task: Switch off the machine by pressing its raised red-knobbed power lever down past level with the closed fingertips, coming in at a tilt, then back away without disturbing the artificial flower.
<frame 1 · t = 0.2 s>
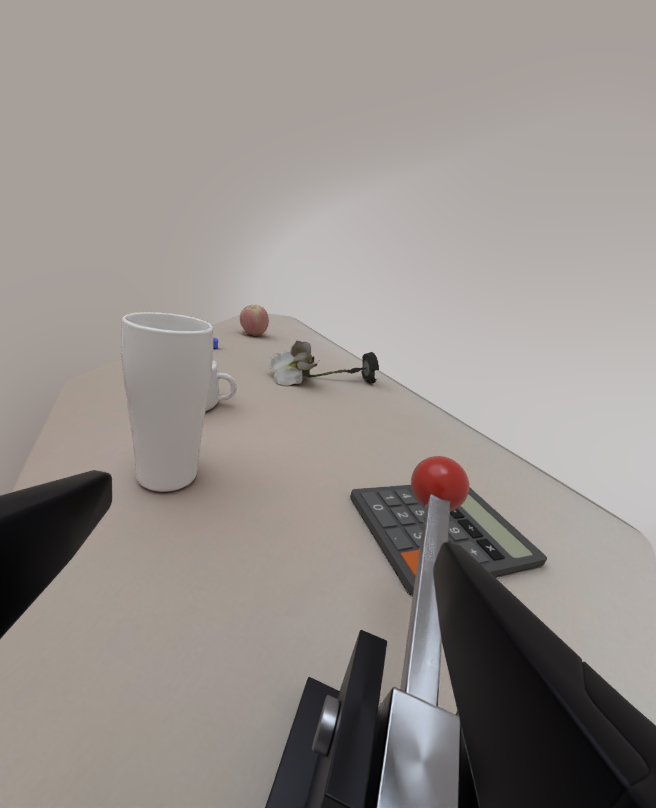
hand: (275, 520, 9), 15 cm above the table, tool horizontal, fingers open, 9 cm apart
eraser: (203, 347, 75), on the table
drinking glass: (167, 478, 33), on the table
lever: (429, 579, 15), point 10 cm above the table, hinge at 15.0°
calculator: (440, 529, 33), on the table
apple: (252, 335, 94), on the table
artificial flower: (324, 382, 68), on the table
mug: (191, 403, 48), on the table
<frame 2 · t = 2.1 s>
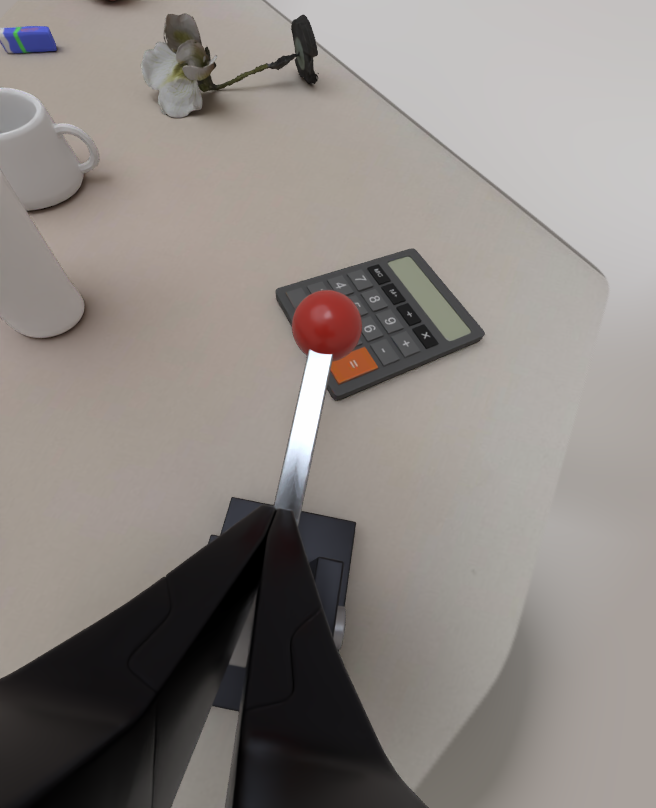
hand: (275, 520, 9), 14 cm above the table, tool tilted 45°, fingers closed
eraser: (33, 52, 46), on the table
drinking glass: (53, 316, 28), on the table
switch bracket: (275, 598, 20), on the table
lever: (299, 454, 14), point 10 cm above the table, hinge at 15.0°
calculator: (377, 319, 31), on the table
apple: (111, 0, 56), on the table
artificial flower: (240, 97, 46), on the table
mug: (48, 185, 34), on the table
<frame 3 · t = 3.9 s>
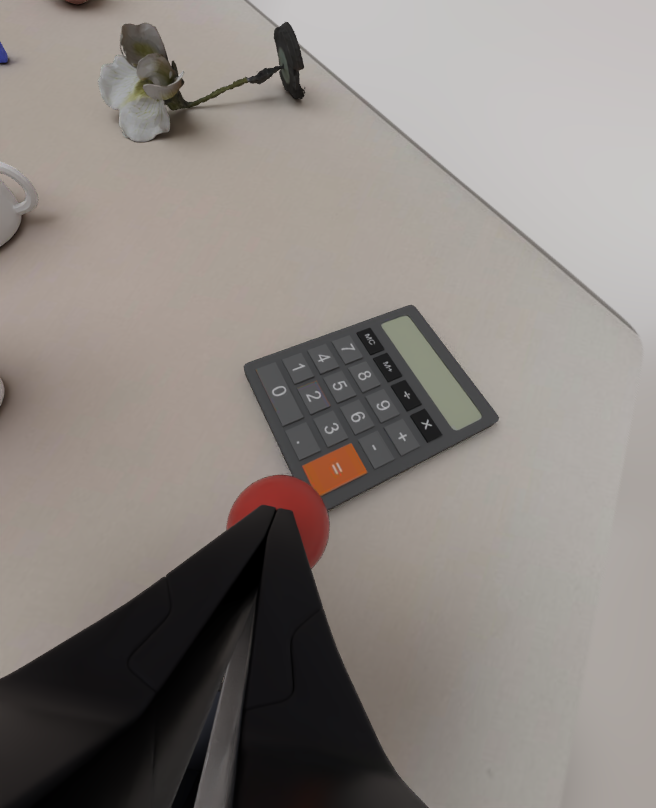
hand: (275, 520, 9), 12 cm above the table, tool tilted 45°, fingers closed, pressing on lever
lever: (229, 751, 9), point 9 cm above the table, hinge at 12.3°, touching gripper
calculator: (368, 398, 25), on the table
apple: (77, 3, 50), on the table
artificial flower: (216, 116, 40), on the table
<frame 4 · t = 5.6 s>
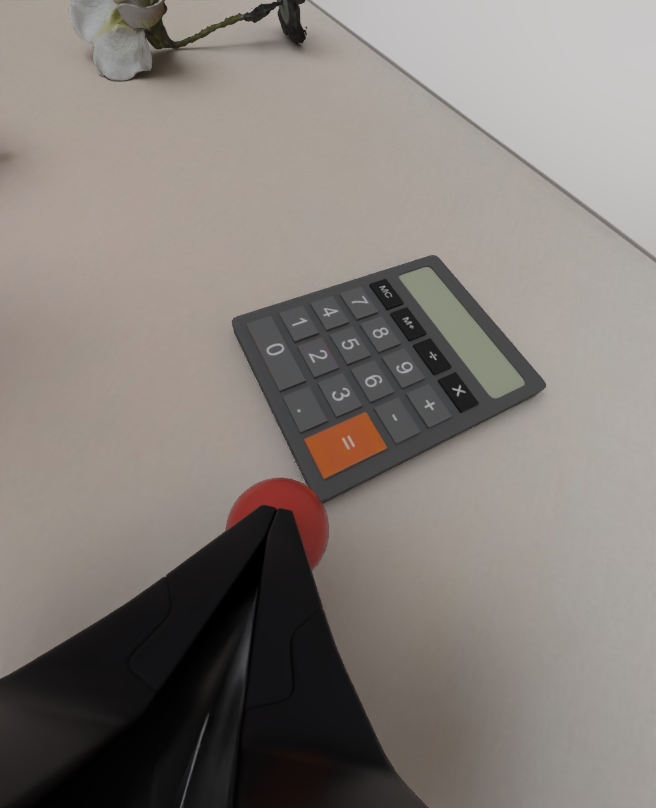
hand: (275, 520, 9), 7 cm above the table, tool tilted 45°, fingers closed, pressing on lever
calculator: (385, 361, 21), on the table
artificial flower: (205, 58, 36), on the table
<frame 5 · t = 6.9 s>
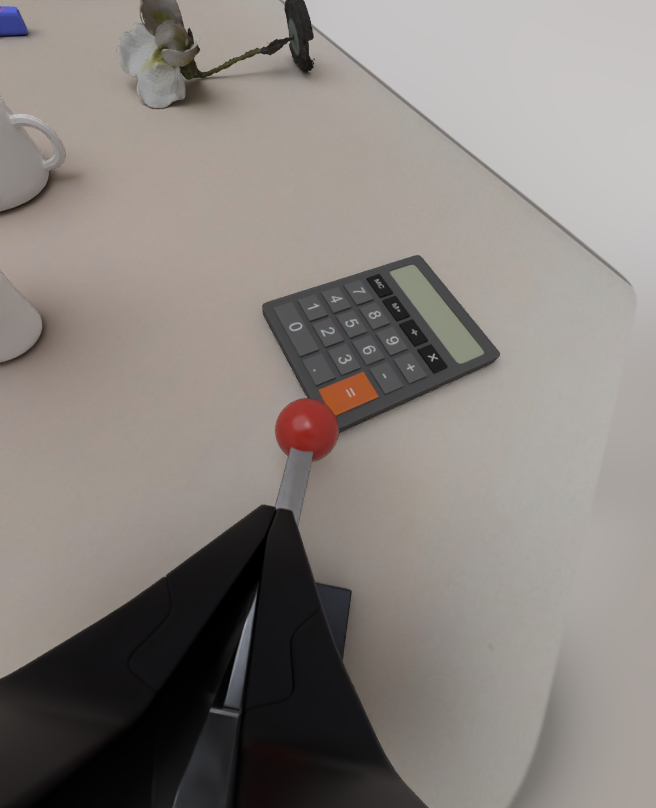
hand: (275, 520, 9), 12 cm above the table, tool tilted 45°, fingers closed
eraser: (1, 36, 42), on the table
drinking glass: (6, 337, 24), on the table
switch bracket: (254, 685, 17), on the table
lever: (278, 551, 13), point 7 cm above the table, hinge at -12.2°
calculator: (378, 337, 27), on the table
artificial flower: (228, 86, 42), on the table
mug: (10, 184, 31), on the table
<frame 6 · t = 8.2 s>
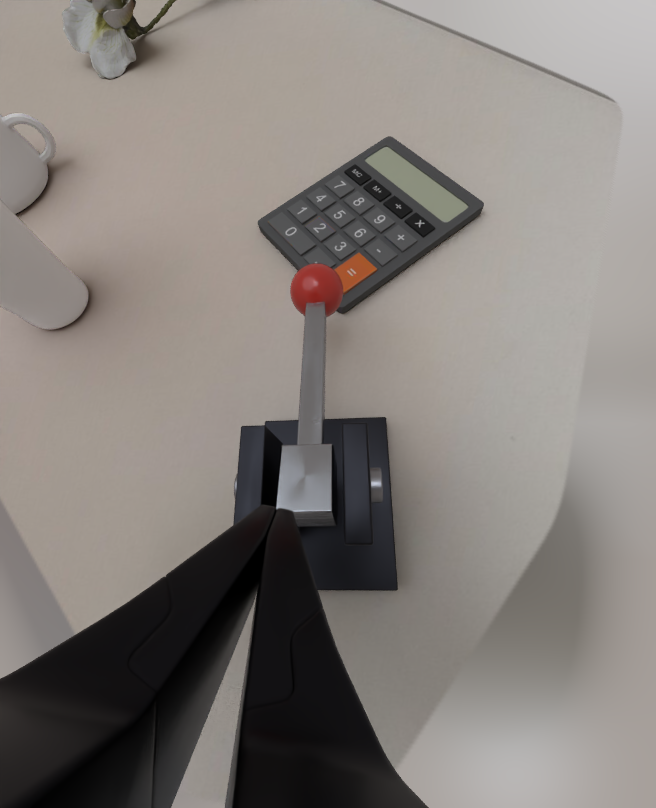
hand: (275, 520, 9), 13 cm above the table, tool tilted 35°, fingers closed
drinking glass: (64, 306, 29), on the table
switch bracket: (326, 499, 22), on the table
lever: (313, 369, 17), point 7 cm above the table, hinge at -12.2°
calculator: (367, 222, 29), on the table
artificial flower: (171, 33, 42), on the table
mug: (20, 186, 35), on the table
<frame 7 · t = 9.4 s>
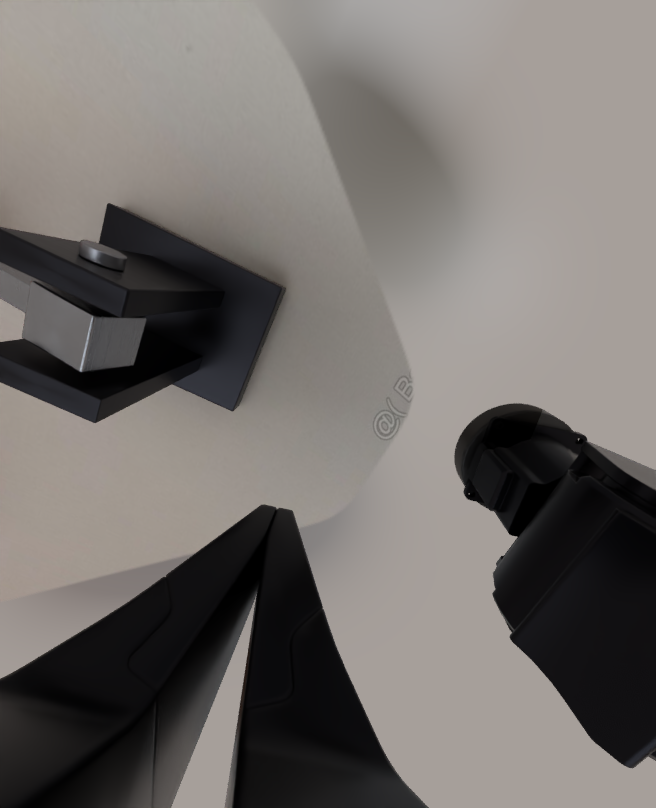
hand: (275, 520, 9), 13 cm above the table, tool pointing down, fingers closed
switch bracket: (185, 314, 20), on the table
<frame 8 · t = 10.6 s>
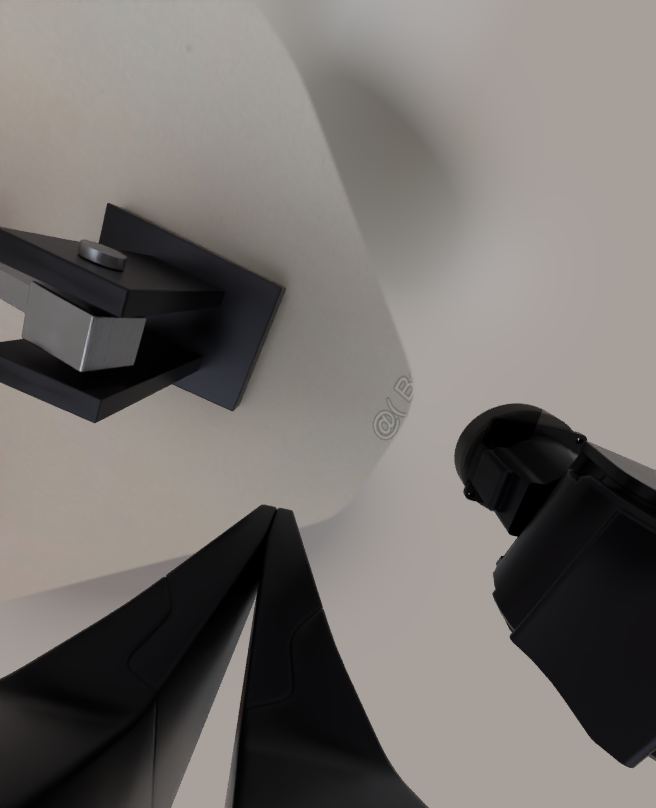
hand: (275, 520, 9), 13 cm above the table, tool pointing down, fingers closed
switch bracket: (184, 314, 20), on the table
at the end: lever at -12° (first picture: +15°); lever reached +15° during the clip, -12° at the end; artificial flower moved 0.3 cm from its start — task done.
